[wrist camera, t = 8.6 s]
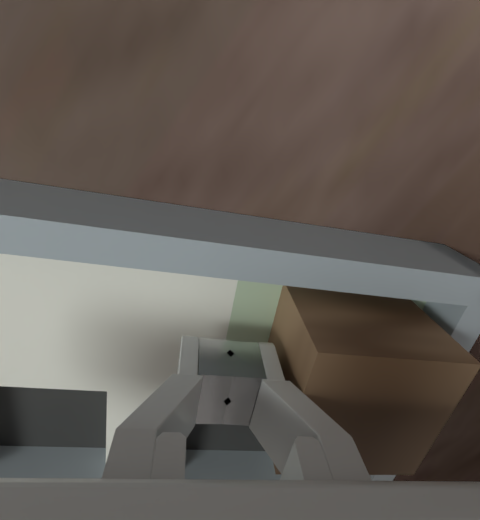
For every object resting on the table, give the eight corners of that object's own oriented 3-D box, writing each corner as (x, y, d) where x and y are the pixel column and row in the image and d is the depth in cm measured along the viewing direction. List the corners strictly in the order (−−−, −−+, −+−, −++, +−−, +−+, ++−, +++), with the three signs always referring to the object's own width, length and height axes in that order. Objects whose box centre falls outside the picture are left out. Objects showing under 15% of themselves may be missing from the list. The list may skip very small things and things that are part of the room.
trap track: (444, 244, 12) (510, 281, 10) (341, 461, 18) (366, 524, 15) (-307, 132, 9) (-541, 143, 6) (-155, 453, 14) (-242, 537, 11)
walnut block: (405, 294, 11) (482, 364, 8) (363, 387, 13) (413, 475, 10) (283, 280, 11) (317, 352, 8) (257, 382, 12) (275, 474, 9)
